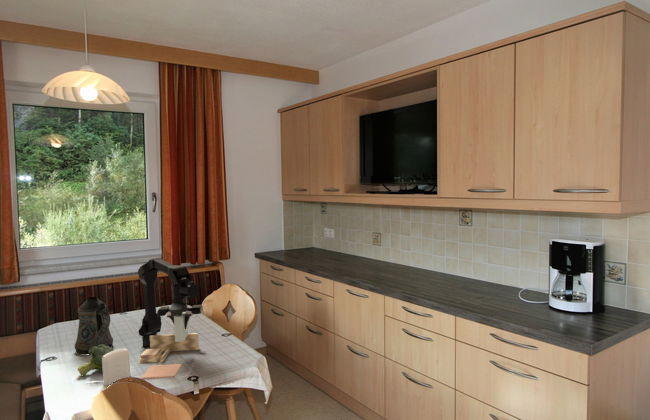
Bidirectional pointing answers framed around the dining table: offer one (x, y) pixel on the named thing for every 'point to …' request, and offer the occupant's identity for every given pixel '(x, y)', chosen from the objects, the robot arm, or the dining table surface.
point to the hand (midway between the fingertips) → (181, 329)
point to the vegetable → (95, 359)
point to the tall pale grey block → (180, 327)
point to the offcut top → (150, 353)
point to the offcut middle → (150, 358)
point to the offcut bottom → (151, 362)
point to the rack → (173, 343)
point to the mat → (161, 371)
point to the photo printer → (115, 365)
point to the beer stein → (93, 326)
